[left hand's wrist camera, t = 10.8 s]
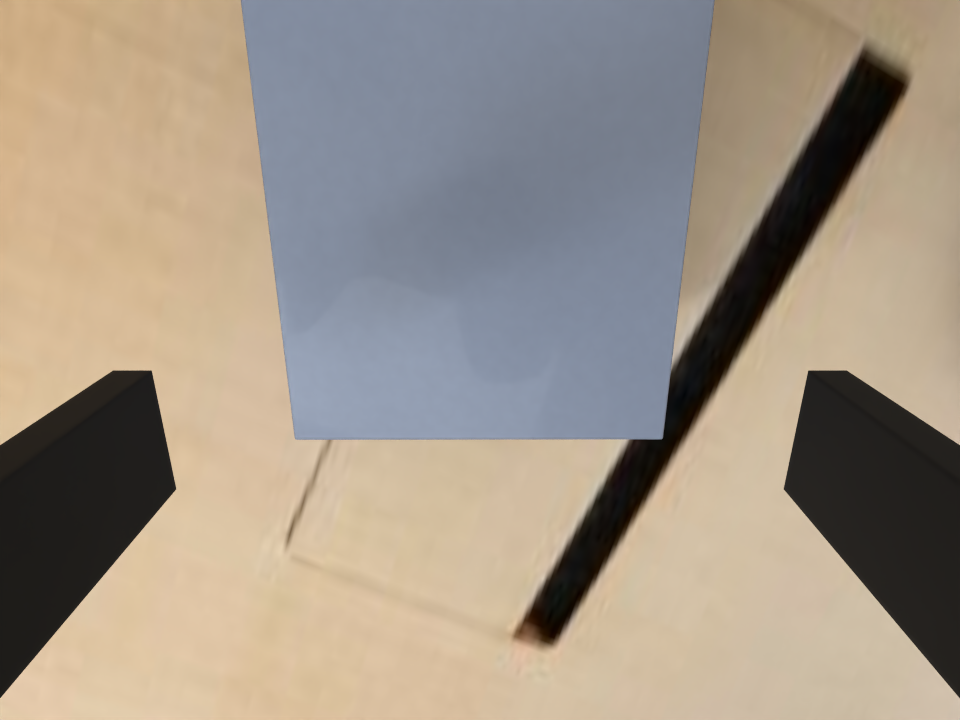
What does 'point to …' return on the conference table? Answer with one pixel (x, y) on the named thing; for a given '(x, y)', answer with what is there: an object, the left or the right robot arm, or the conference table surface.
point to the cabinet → (478, 210)
